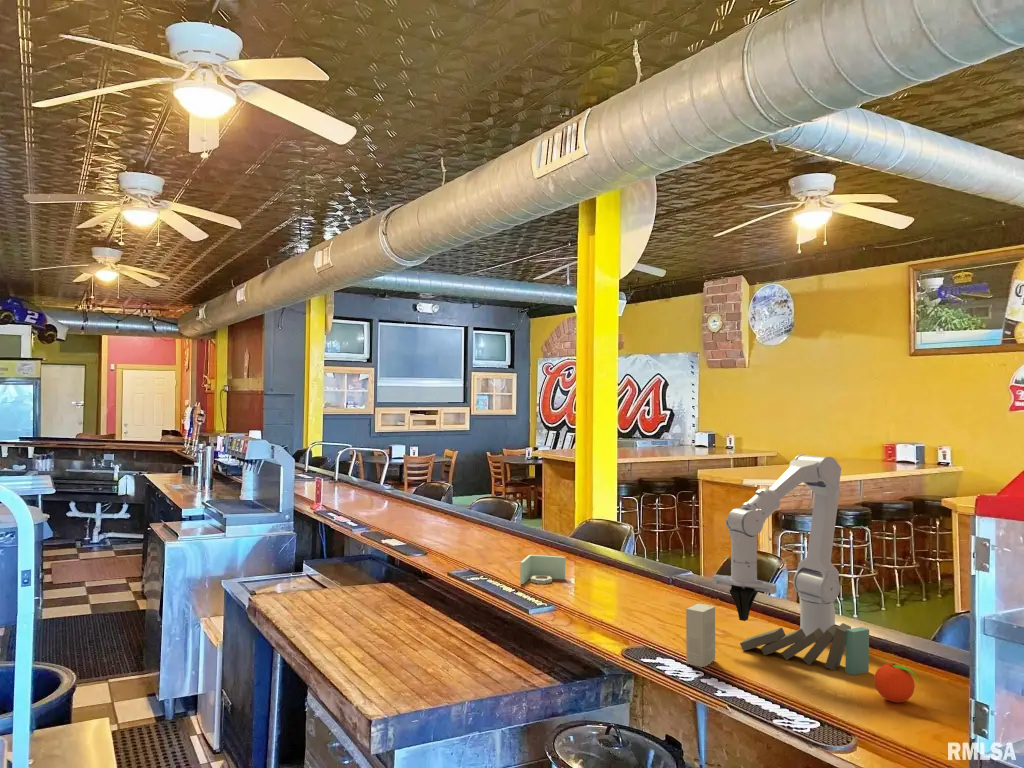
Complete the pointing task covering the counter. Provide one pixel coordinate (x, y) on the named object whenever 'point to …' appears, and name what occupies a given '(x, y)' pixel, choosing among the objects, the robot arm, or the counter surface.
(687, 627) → the skincare box
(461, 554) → the counter surface
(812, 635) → the domino
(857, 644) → the domino
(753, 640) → the domino
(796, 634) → the domino
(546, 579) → the l-shaped corner panel
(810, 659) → the domino
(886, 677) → the clementine
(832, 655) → the domino
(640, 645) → the counter surface
